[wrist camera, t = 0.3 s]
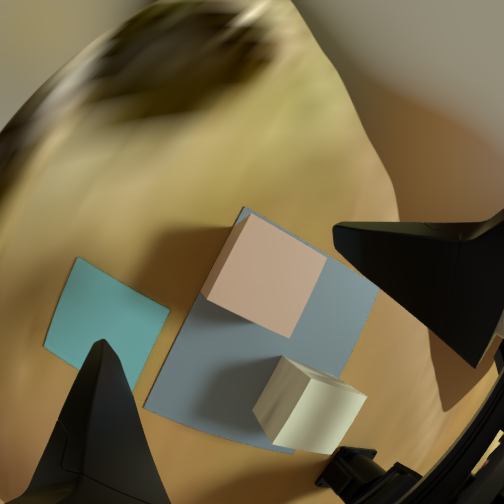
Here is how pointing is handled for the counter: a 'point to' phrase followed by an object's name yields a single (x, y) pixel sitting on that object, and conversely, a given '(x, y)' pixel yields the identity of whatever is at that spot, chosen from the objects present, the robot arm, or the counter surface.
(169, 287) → the counter surface
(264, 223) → the terracotta block
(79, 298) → the teal pad
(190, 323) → the card
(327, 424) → the maple block
